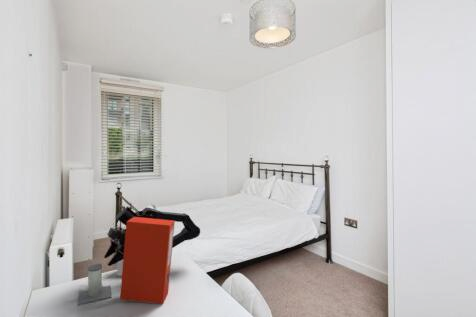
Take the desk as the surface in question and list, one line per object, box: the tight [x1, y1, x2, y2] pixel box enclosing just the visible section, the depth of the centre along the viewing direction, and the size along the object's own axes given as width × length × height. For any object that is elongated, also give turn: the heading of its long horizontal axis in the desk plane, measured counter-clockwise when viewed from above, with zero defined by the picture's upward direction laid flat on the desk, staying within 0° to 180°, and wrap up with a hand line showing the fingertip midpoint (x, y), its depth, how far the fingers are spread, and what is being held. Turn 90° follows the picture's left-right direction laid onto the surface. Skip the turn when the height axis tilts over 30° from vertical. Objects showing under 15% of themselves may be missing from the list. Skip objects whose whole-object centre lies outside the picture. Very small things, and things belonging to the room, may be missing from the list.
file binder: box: [119, 217, 176, 305], centre depth 106 cm, size 8×17×32 cm, turn 90°
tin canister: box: [87, 262, 103, 297], centre depth 108 cm, size 5×5×12 cm
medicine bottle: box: [116, 260, 123, 277], centre depth 128 cm, size 7×7×12 cm
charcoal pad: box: [77, 284, 112, 306], centre depth 109 cm, size 12×10×1 cm
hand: (106, 261), depth 111 cm, fingers open, 9 cm apart
